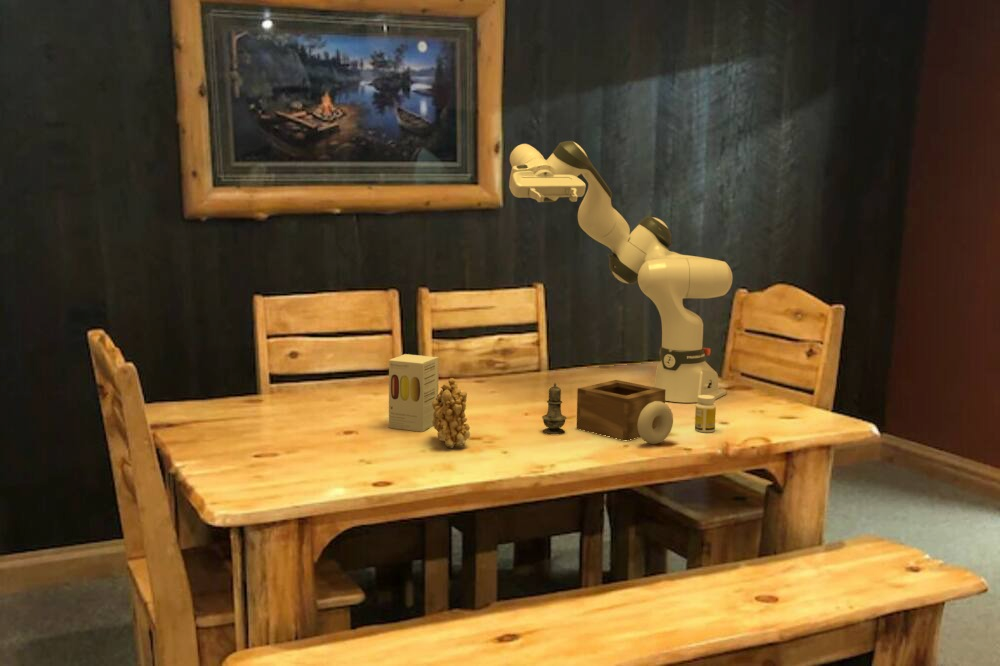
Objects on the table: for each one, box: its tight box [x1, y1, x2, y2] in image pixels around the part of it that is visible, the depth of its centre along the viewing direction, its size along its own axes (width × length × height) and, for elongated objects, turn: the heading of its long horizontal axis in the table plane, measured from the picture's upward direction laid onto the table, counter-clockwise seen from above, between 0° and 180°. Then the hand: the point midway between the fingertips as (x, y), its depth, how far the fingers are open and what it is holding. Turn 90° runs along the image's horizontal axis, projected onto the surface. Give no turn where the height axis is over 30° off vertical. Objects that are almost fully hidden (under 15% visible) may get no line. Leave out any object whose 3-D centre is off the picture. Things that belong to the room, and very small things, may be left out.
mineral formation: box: [432, 377, 471, 449], centre depth 208 cm, size 8×13×15 cm, turn 21°
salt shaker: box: [541, 382, 567, 435], centre depth 219 cm, size 6×6×12 cm
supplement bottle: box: [694, 395, 717, 434], centre depth 222 cm, size 5×5×8 cm
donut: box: [637, 401, 674, 445], centre depth 210 cm, size 10×3×10 cm, turn 125°
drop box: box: [576, 379, 666, 441], centre depth 222 cm, size 15×15×10 cm
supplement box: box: [388, 353, 440, 433], centre depth 223 cm, size 10×9×17 cm
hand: (558, 199), depth 239 cm, fingers open, 8 cm apart
